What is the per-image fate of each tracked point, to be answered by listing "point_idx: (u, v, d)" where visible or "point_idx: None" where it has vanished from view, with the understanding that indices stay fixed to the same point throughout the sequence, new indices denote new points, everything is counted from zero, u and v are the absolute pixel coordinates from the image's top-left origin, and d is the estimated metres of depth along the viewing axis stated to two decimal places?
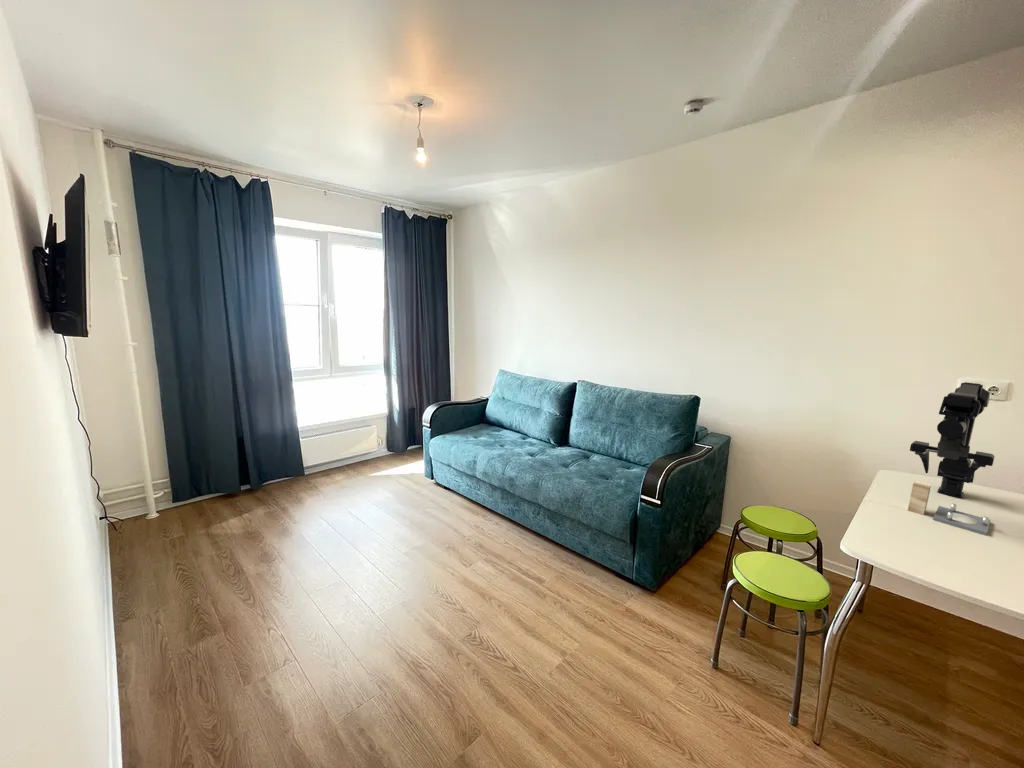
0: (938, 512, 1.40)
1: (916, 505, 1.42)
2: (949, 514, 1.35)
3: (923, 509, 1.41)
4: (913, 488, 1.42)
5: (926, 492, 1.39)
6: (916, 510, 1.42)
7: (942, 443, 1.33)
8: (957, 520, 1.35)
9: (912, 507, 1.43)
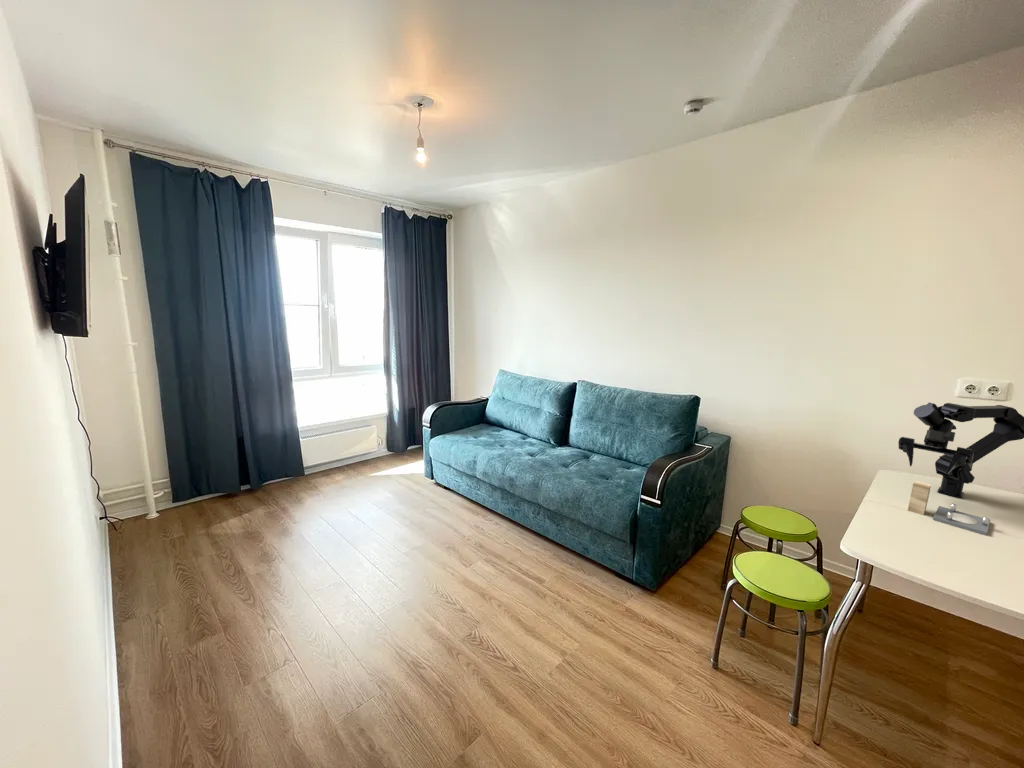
0: (938, 512, 1.40)
1: (916, 505, 1.42)
2: (949, 514, 1.35)
3: (923, 509, 1.41)
4: (913, 488, 1.42)
5: (926, 492, 1.39)
6: (916, 510, 1.42)
7: None
8: (957, 520, 1.35)
9: (912, 507, 1.43)
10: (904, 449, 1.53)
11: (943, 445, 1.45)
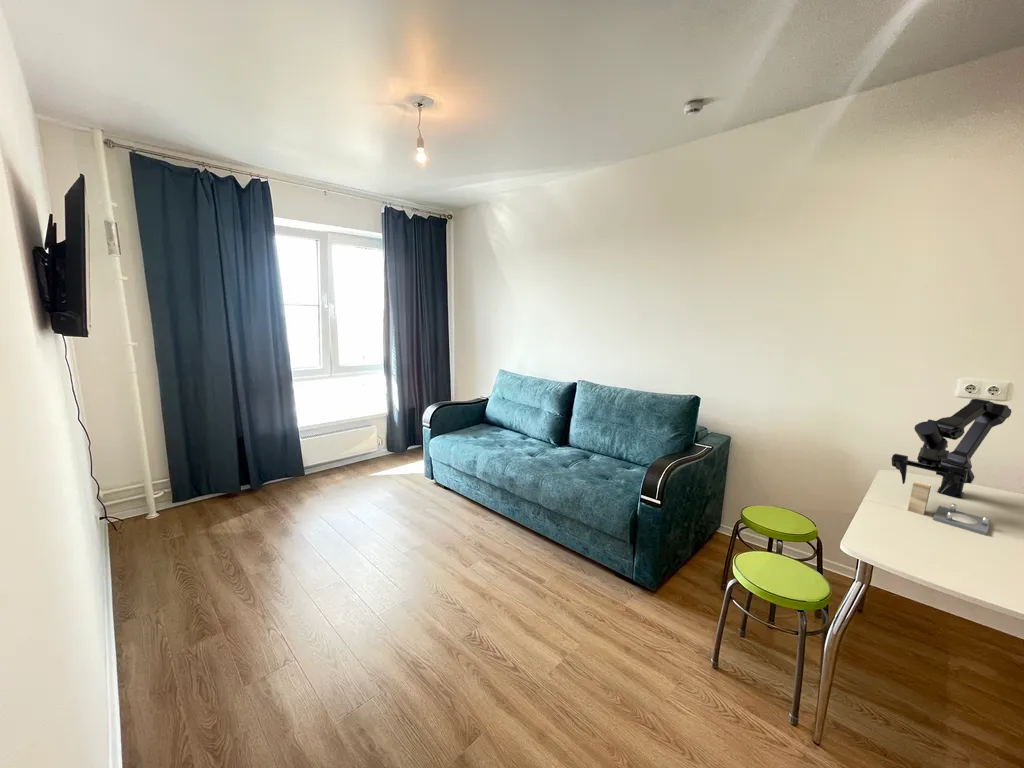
0: (938, 512, 1.40)
1: (916, 505, 1.42)
2: (949, 514, 1.35)
3: (923, 509, 1.41)
4: (913, 488, 1.42)
5: (926, 492, 1.39)
6: (916, 510, 1.42)
7: None
8: (957, 520, 1.35)
9: (912, 507, 1.43)
10: (897, 466, 1.50)
11: (937, 463, 1.42)
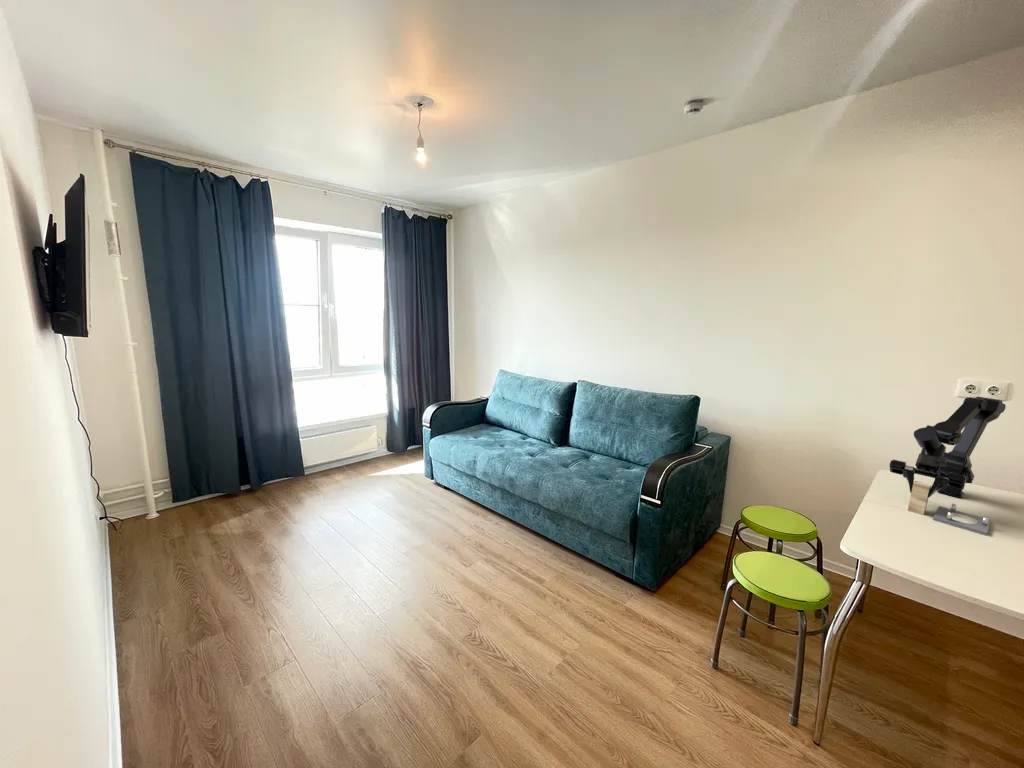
0: (938, 512, 1.40)
1: (916, 505, 1.42)
2: (949, 514, 1.35)
3: (923, 509, 1.41)
4: (913, 488, 1.42)
5: (926, 492, 1.39)
6: (916, 510, 1.42)
7: None
8: (957, 520, 1.35)
9: (912, 507, 1.43)
10: (904, 474, 1.47)
11: (935, 470, 1.41)
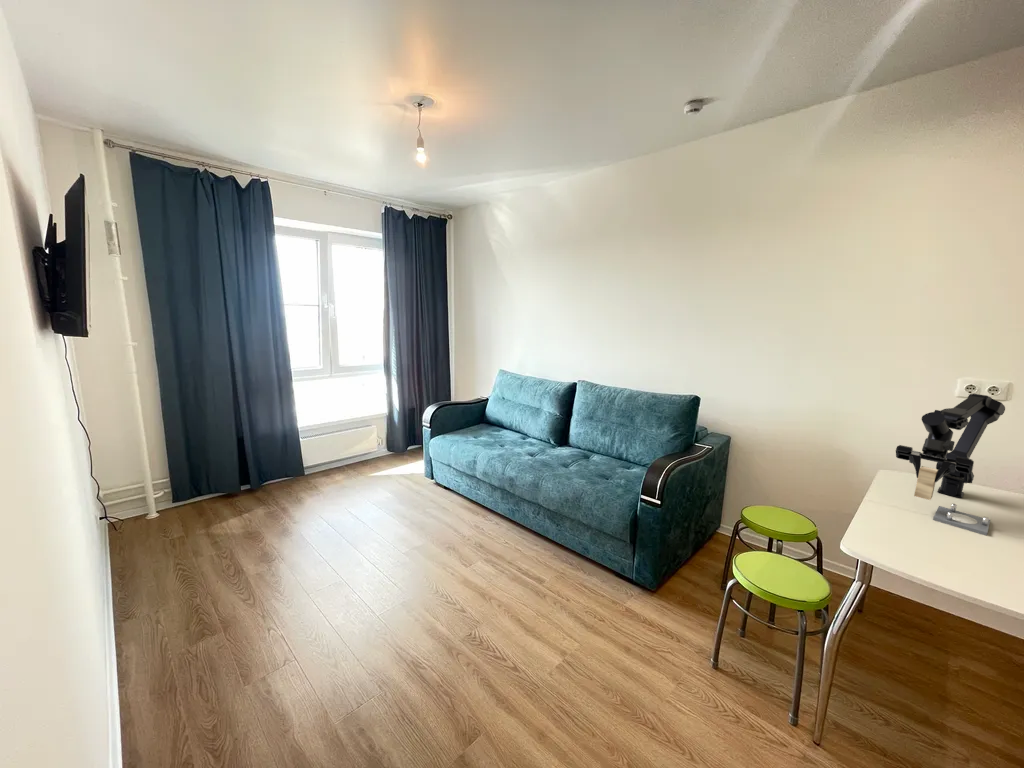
0: (938, 512, 1.40)
1: (923, 490, 1.40)
2: (949, 514, 1.35)
3: (930, 494, 1.39)
4: (920, 473, 1.40)
5: (933, 477, 1.38)
6: (923, 495, 1.40)
7: None
8: (957, 520, 1.35)
9: (918, 493, 1.41)
10: (911, 460, 1.46)
11: (942, 454, 1.39)
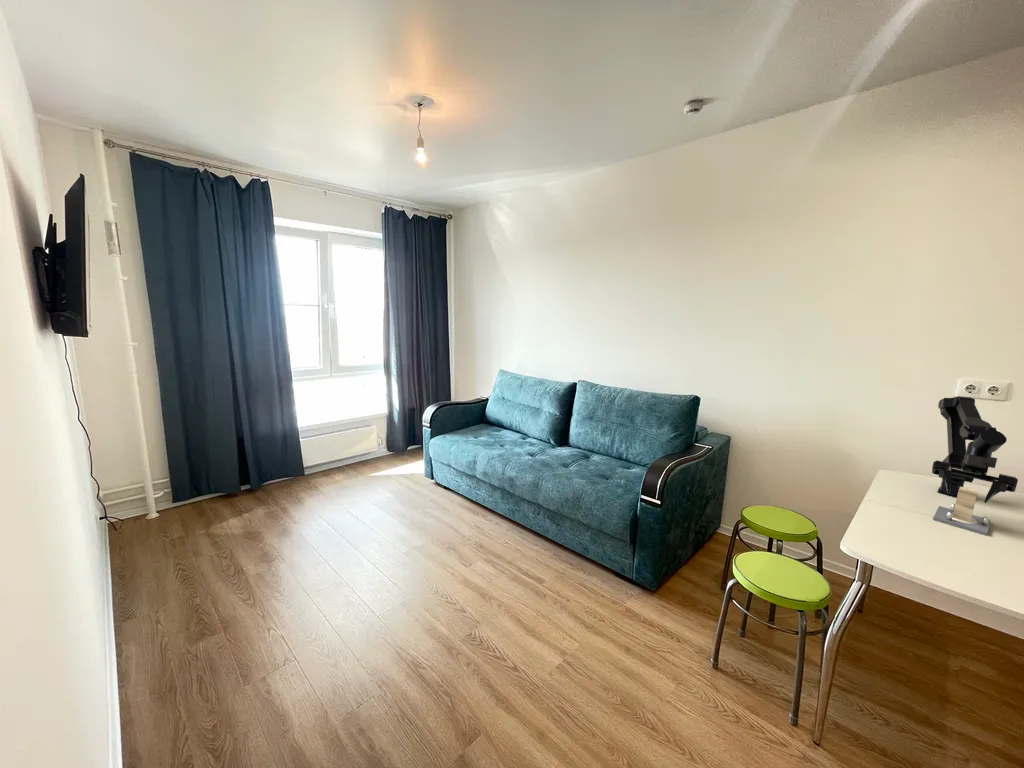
0: (938, 512, 1.40)
1: (962, 512, 1.35)
2: (949, 514, 1.35)
3: (969, 517, 1.34)
4: (958, 495, 1.35)
5: (973, 499, 1.32)
6: (962, 517, 1.35)
7: None
8: (957, 520, 1.35)
9: (957, 515, 1.36)
10: (940, 474, 1.42)
11: (983, 471, 1.34)
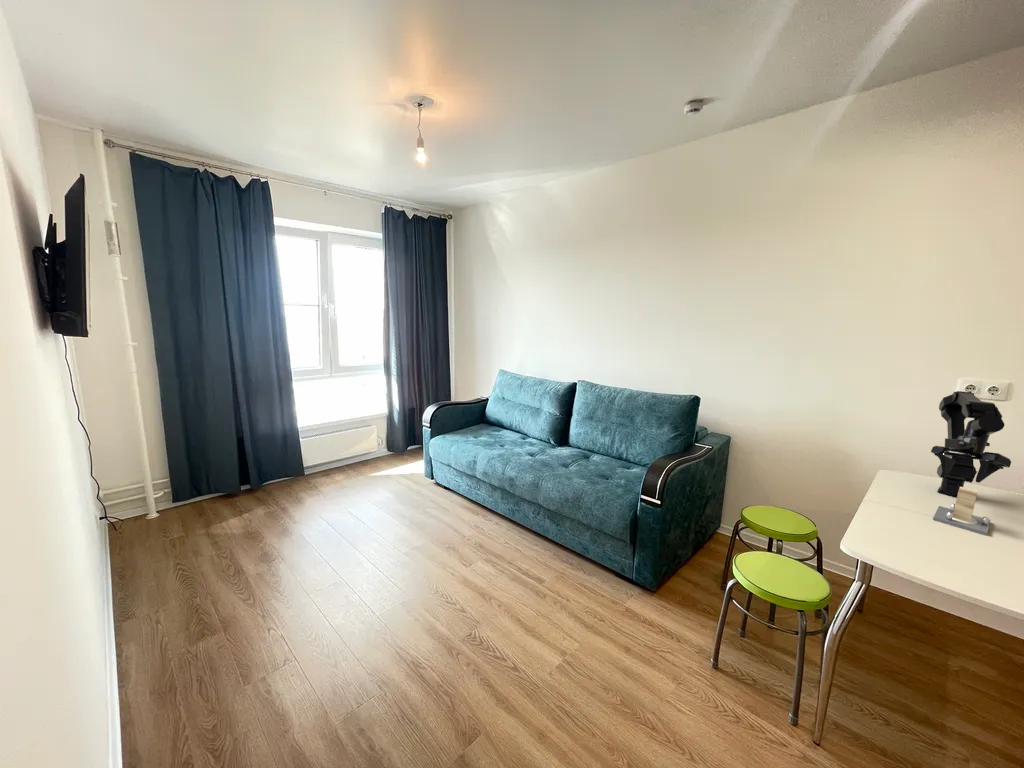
0: (938, 512, 1.40)
1: (962, 512, 1.35)
2: (949, 514, 1.35)
3: (970, 516, 1.34)
4: (959, 494, 1.35)
5: (973, 499, 1.32)
6: (962, 517, 1.35)
7: None
8: (957, 520, 1.35)
9: (957, 515, 1.36)
10: None
11: (971, 451, 1.38)
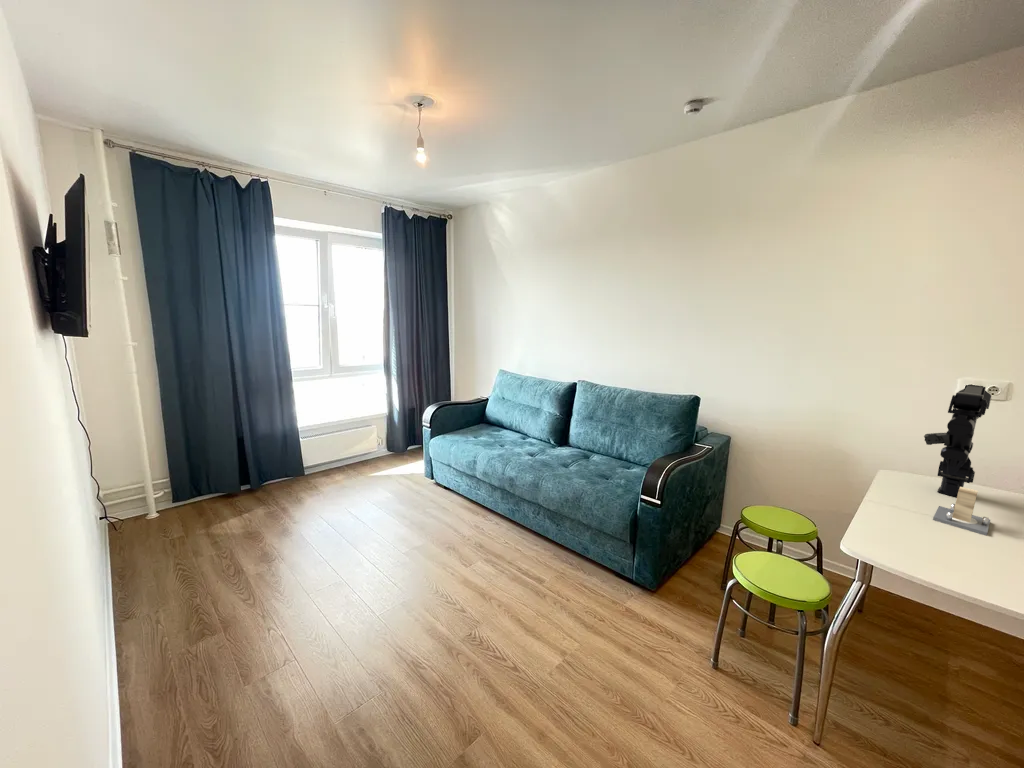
0: (938, 512, 1.40)
1: (962, 512, 1.35)
2: (949, 514, 1.35)
3: (970, 516, 1.34)
4: (959, 494, 1.35)
5: (973, 499, 1.32)
6: (962, 517, 1.35)
7: (938, 433, 1.47)
8: (957, 520, 1.35)
9: (957, 515, 1.36)
10: None
11: None
